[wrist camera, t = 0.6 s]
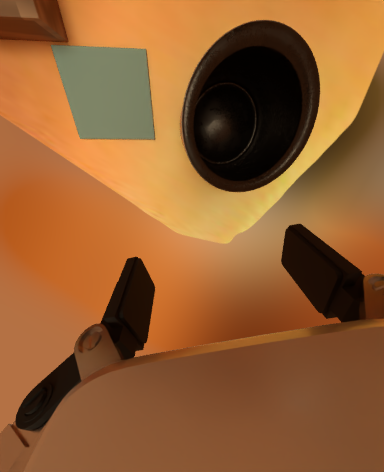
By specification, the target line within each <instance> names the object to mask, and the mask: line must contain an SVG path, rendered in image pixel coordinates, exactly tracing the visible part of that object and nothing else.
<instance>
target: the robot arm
mask: <svg viewBox="0 0 384 472" xmlns="http://www.w3.org/2000/svg"><path fill="white" fill-rule="evenodd" d="M281 262H282V265H283V266H284V268H285V269H286V270H287V272H288V273H289V274H290V276H291V277H292V278H293V280H294V281H295V282H296V284H298V286H299V287H300V289H301V290H302V291H303V293H304V294H305V295H306V297H307V298H308V299H309V300H310V302H311V303H312V305H313V306H314V307H315V308H316V310H317V311H318V312H319V313H322V314H323V315H324V316H325V317H326V319H328V318H334V317H338V319H339V320H340V321H341V323H336V324H329V325H322V326H316V327H310V328H303V329H298V330H291V331H285V332H279V333H273V334H267V335H260V336H255V337H248V338H242V339H237V340H230V341H225V342H218V343H212V344H207V345H201V346H195V347H190V348H183V349H177V350H172V351H166V352H161V353H156V354H150V355H146V356H140V357H135V358H134V356H135V351H139V350H143V348H144V343H146V342H147V338H148V332H149V325H150V319H151V312H152V306H153V299H154V292H155V286H154V283H153V281H152V280H151V278H150V275H149V273H148V271H147V270H146V268H145V266H144V264H143V262H142V260H141V259H140V258H138V257H133V258H128V259H127V261H126V263H125V266H124V268H123V271H122V273H121V276H120V278H119V281H118V282H117V284H116V287H115V289H114V291H113V294H112V296H111V299H110V302H109V304H108V306H107V308H106V311H105V313H104V316H103V318H102V321H101V323H100V324H94V325H92V326H90V327H89V328H87V329H86V330H85V331H84V332H83V333H82V334H81V335H80V336H79V338H78V340H77V341H76V343H75V347H74V353H73V354H72V355H71V356H70V357H68V358H67V359H66V360H65V361H64V362H63V363H62V364H60V365H59V366H58V367H57V368H56V369H55V370H54V371H53V372H51V373H50V374H49V375H48V376H47V377H46V378H45V379H44V380H42V381H41V382H40V383H39V384H38V385H37V386H36V387H35V388H34V389H33V390H32V391H31V392H30V393H29V394H28V395H27V396H26V398H25V399H24V400H23V402H22V404H21V406H20V407H19V410H18V412H17V415H16V421H15V422H14V423H13V424H8V425H7V426H6V427H5V429H4V430H3V431H2V432H1V433H0V472H384V275H382V274H369V275H367V276H364V275H363V274H362V271H360V270H359V269H358V268H357V267H356V266H354V265H353V264H352V263H350V262H349V261H348V260H346V259H345V258H344V257H343V256H341V255H340V254H339V253H338V252H336V251H335V250H334V249H332V248H331V247H330V246H329V245H327V244H326V243H325V242H323V241H322V240H321V239H320V238H318V237H317V236H315V235H314V234H313V233H312V232H310V231H309V230H308V229H307V228H305V227H304V226H303V225H301V224H296V225H290V226H289V227H288V228H287V229H286V232H285V238H284V245H283V252H282V259H281Z"/></svg>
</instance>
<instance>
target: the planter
mask: <svg viewBox="0 0 384 472" xmlns="http://www.w3.org/2000/svg"><path fill="white" fill-rule="evenodd" d="M319 99H320V81H319V73H318V68H317V64H316V61H315V58H314V56H313V53H312V51H311V49H310V48H309V46H308V44H307V43H306V41H305V40H304V39H303V38H302V37H301V35H299V34H298V33H297V32H296V31H295V30H293V29H292V28H291V27H289V26H287V25H285V24H283V23H280V22H276V21H272V20H256V21H251V22H247V23H244V24H242V25H239V26H237V27H235V28H233V29H231V30H230V31H228V32H227V33H225V34H224V35H223V36H222V37H220V38H219V39H218V40H217V41H216V42H215V43H214V44H213V45H212V46H211V47H210V48H209V49H208V50H207V52H206V53H205V54H204V56H203V57H202V59H201V60H200V62H199V63H198V65H197V67H196V68H195V70H194V72H193V75H192V77H191V79H190V82H189V84H188V87H187V90H186V94H185V98H184V103H183V107H182V111H181V117H180V134H181V139H182V143H183V146H184V148H185V151H186V153H187V155H188V158H189V160H190V162H191V164H192V165H193V167H194V169H195V170H196V171H197V173H198V174H199V175H200V176H201V177H202V178H203V179H204V180H205V181H206V182H208V183H209V184H211V185H212V186H214V187H216V188H218V189H221V190H225V191H229V192H246V191H251V190H255V189H258V188H260V187H263V186H265V185H267V184H268V183H270V182H272V181H273V180H275V179H276V178H278V177H279V176H280V175H281V174H283V173H284V172H285V171H286V170H287V169H288V168H289V167H290V166H291V165H292V163H293V162H294V161H295V160H296V159H297V157H298V156H299V154H300V153H301V151H302V150H303V148H304V146H305V145H306V143H307V141H308V139H309V137H310V134H311V132H312V129H313V127H314V124H315V120H316V117H317V112H318V107H319Z"/></svg>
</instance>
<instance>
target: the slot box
mask: <svg viewBox="0 0 384 472" xmlns="http://www.w3.org/2000/svg"><path fill="white" fill-rule="evenodd" d="M0 39H12V40H35V41H58V42H68V39H67V35H66V32H65V28H64V24H63V21H62V17H61V13H60V9H59V6H58V2H57V0H0Z"/></svg>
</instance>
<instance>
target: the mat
mask: <svg viewBox="0 0 384 472" xmlns="http://www.w3.org/2000/svg"><path fill="white" fill-rule="evenodd" d="M51 47H52V51H53V54H54V57H55V60H56V63H57V67H58V70H59V73H60V76H61V79H62V83H63V86H64V89H65V92H66V95H67V98H68V102H69V105H70V108H71V111H72V114H73V118H74V121H75V124H76V127H77V130H78V133H79V137H80V139H155V135H154V125H153V114H152V104H151V94H150V84H149V74H148V64H147V53H146V49H134V48H111V47H87V46H64V45H51Z"/></svg>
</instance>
